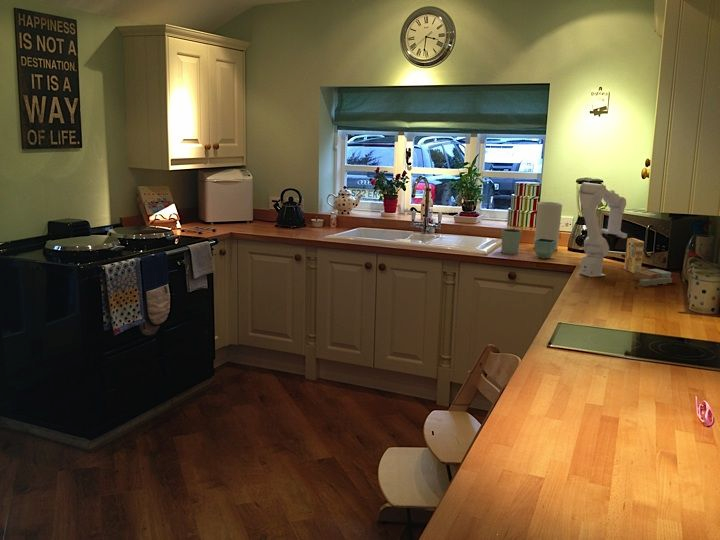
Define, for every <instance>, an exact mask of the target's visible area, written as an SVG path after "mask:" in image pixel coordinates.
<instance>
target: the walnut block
mask: <svg viewBox="0 0 720 540" xmlns="http://www.w3.org/2000/svg"><path fill="white" fill-rule="evenodd" d="M658 276H659V274H657V273H653V272H649V271H647V269H646V270H645V269H641V270H640V271H635V273H633V281H634V280H635V282H638V281H639V280H642V279H652V278H658Z"/></svg>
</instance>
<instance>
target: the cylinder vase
mask: <svg viewBox="0 0 720 540" xmlns="http://www.w3.org/2000/svg"><path fill="white" fill-rule="evenodd" d="M536 211H537V213H536V219H535V220H536V221H535V232H534V240H533V248H534V249H535V240H537V239H539V238H541V239H549V240H556V245H555V249H554V252H555V251H557V250H558V245H559V237H560V229H561V220H562V219H561V218H562V211H563V203H560V202H553V201H538V203H537V210H536Z"/></svg>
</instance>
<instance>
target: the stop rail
mask: <svg viewBox="0 0 720 540" xmlns="http://www.w3.org/2000/svg"><path fill="white" fill-rule="evenodd" d="M673 279H674V278H673V277H671V278H670V277H662V278H652V279H642V280H639V282H638V286H640V285H641V286H640V287H643V286H644V287H650V286H649V285H654V286H658V285H657V284H663V285H668V284H667V283H673Z"/></svg>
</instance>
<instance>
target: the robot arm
mask: <svg viewBox="0 0 720 540" xmlns="http://www.w3.org/2000/svg"><path fill="white" fill-rule="evenodd" d="M578 196H579V200H580V203H581V204H582V205H581V206H582V213H583V217H584V222H585V227H586V232H587V236H586V237H585V239H584V241H583V251H584V253H585V255H586V256H584V257H582V258H581V261H580V268H579V271H578V274H580V275H584V276H587V277H589V278H593V277H595V278H596V277H605V276H606V275H607V274H606V273H605V274H604V273H602V271H603V266H604V265H603V264H604V257H607V255H608V253H609V252H610V251H611V252H612V251H615V249H616V246H617V245H618V242H620V239H621V238H622V239H628V238H627V237H628V233H625V232H623V231H621V228H622V220H623V213H624V212H625V208H626V206H627V199H626V198H625V197H623V196H621V195H619V193H616V192H615V190H612V189H610V190H608V189H607V186H606V185H605V184H604V183H603V184H602V183H600V184H599V183H592V182H591V183H590V182H587V181H586V182H585V181H584V182H582V183H581V184H580V187H579V190H578ZM602 201H603V202H604V203H606V204H607V205H608V206H607V207H608V208H609V214H608V215H609V216H608V223H607V228H600V226H599V220H598V219H599V218H598V215H597V214H598V213H597V209H596V207H598V206H600V204H601V203H602ZM601 234H605V236H604V237H605V238H604V237H603V235H601Z"/></svg>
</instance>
